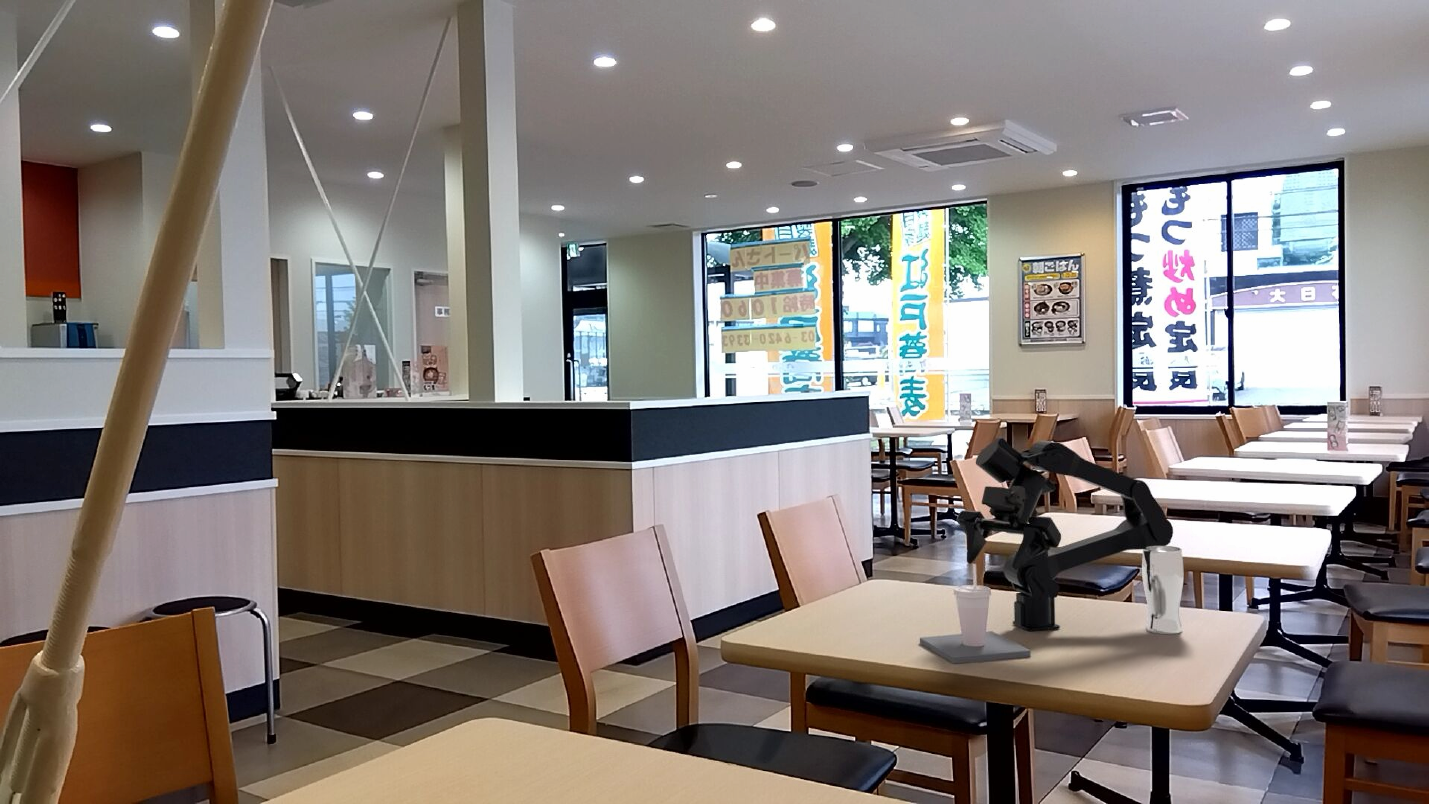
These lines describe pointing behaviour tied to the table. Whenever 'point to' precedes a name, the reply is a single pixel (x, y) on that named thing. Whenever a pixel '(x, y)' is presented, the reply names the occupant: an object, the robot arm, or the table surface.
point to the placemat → (974, 648)
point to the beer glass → (1163, 588)
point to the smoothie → (973, 611)
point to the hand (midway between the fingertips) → (990, 565)
